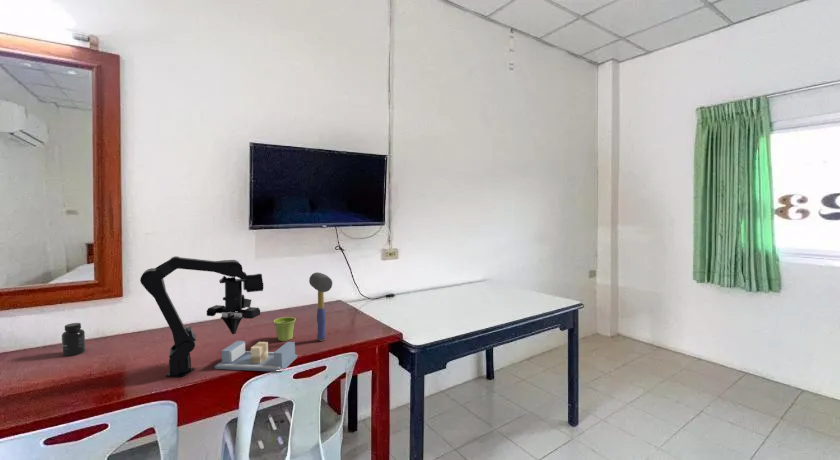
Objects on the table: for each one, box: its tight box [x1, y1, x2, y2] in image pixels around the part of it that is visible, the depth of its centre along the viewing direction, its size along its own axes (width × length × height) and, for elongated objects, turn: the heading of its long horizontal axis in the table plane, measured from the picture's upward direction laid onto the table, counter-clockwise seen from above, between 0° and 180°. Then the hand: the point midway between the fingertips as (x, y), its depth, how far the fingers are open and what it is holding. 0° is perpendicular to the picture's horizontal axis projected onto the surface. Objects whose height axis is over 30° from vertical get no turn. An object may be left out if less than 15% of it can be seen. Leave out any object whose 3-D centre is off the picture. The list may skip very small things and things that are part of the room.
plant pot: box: [273, 316, 297, 342], centre depth 167 cm, size 9×9×9 cm
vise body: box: [214, 341, 298, 372], centre depth 142 cm, size 13×26×6 cm, turn 84°
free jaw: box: [221, 340, 247, 364], centre depth 143 cm, size 10×4×5 cm, turn 174°
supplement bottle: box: [61, 322, 86, 357], centre depth 151 cm, size 7×7×12 cm
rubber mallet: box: [308, 272, 333, 342], centre depth 165 cm, size 12×8×30 cm, turn 33°
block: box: [250, 341, 269, 364], centre depth 142 cm, size 6×4×6 cm, turn 174°
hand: (233, 333), depth 142 cm, fingers closed
